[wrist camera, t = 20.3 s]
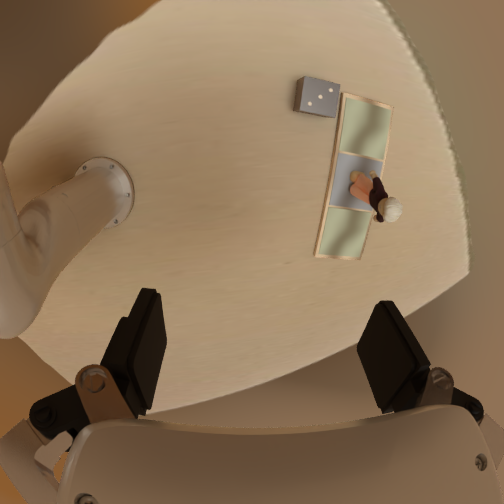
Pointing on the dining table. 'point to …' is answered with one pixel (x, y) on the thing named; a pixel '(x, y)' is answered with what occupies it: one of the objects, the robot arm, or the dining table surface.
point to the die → (316, 97)
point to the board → (343, 163)
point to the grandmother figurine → (375, 196)
